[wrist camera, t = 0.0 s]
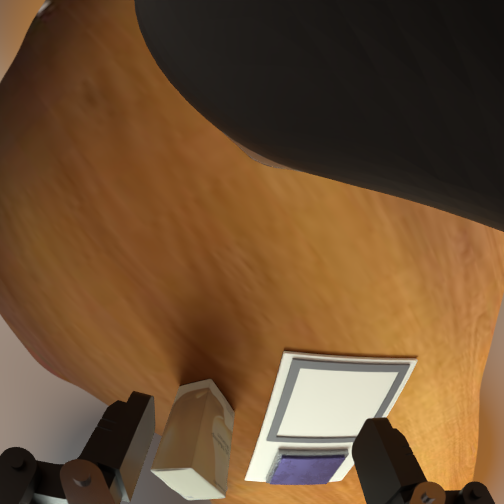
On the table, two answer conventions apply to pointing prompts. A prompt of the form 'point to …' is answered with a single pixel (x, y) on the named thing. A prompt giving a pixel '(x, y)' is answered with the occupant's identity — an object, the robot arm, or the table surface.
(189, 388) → the skincare box
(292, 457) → the ink pad
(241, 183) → the table surface
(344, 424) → the marked board
